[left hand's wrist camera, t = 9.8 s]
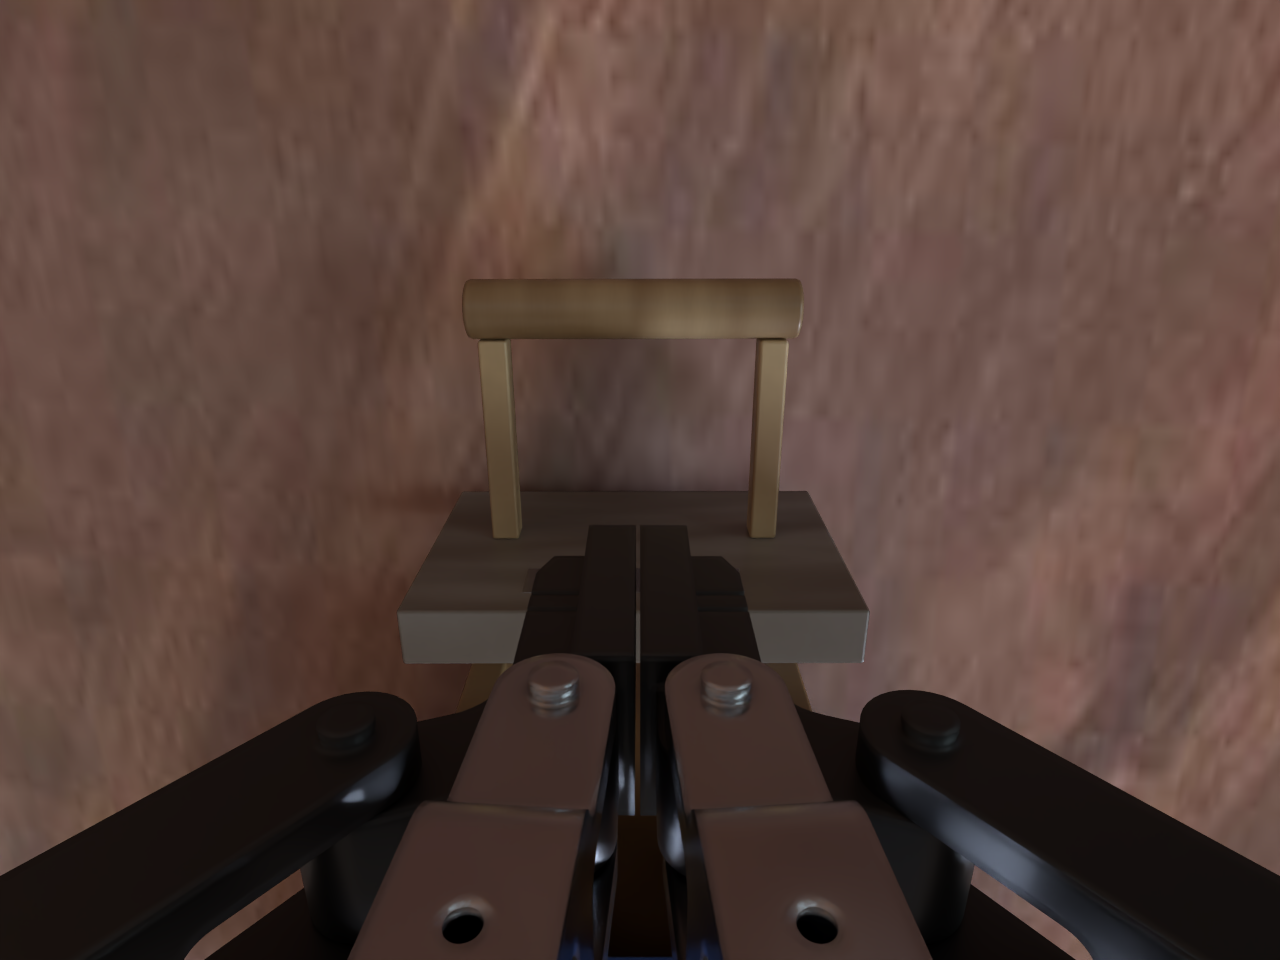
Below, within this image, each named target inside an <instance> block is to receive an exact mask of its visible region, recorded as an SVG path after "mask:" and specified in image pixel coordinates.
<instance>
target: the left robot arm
mask: <svg viewBox="0 0 1280 960" xmlns="http://www.w3.org/2000/svg"><path fill="white" fill-rule="evenodd" d="M531 592H532V593H531V595H530V599H529V603H528V607H527V611H526V615H525V619H524V623H523V627H522V630H521V634H520V638H519V642H518V646H517V650H516V654H515V658H514V662H513V666H511V667H509V668H508V669H507V670H506V671H504V672H503V673H502V674H501V675H500V676H499V678H498V679H497V680H496V682H495V684H494V686H493V688H492V691H491V693H490V696H489V698H488V699H487V700H486V701H484V702H483V703H481V704H479V705H477V706H474V707H472V708H470V709H467V710H464V711H462V712H459V713H455V714H451V715H447V716H442V717H438V718H433V719H429V720H424V721H419V722H417V718H416V714H415V712H414V710H413V708H412V707H411V706H410V704H408V703H407V702H406V701H404V700H403V699H401V698H399V697H397V696H394V695H391V694H388V693H381V692H356V693H350V694H344V695H341V696H337V697H333V698H330V699H328V700H325V701H322V702H320V703H318V704H316V705H314V706H312V707H310V708H308V709H306V710H305V711H303V712H301V713H299V714H297V715H295V716H293V717H292V718H290V719H288V720H286V721H284V722H282V723H281V724H279V725H277V726H275V727H273V728H271V729H270V730H268V731H266V732H264V733H262V734H260V735H259V736H257V737H255V738H253V739H251V740H249V741H248V742H246V743H244V744H242V745H240V746H238V747H237V748H235V749H233V750H231V751H229V752H227V753H225V754H224V755H222V756H220V757H218V758H216V759H214V760H213V761H211V762H209V763H207V764H205V765H203V766H202V767H200V768H198V769H196V770H194V771H192V772H191V773H189V774H187V775H185V776H183V777H181V778H180V779H178V780H176V781H174V782H172V783H170V784H169V785H167V786H165V787H163V788H161V789H159V790H157V791H156V792H154V793H152V794H150V795H148V796H146V797H145V798H143V799H141V800H139V801H137V802H135V803H134V804H132V805H130V806H128V807H126V808H124V809H123V810H121V811H119V812H117V813H115V814H113V815H112V816H110V817H108V818H106V819H104V820H102V821H101V822H99V823H97V824H95V825H93V826H91V827H89V828H88V829H86V830H84V831H82V832H80V833H78V834H77V835H75V836H73V837H71V838H69V839H67V840H66V841H64V842H62V843H60V844H58V845H56V846H55V847H53V848H51V849H49V850H47V851H45V852H44V853H42V854H40V855H38V856H36V857H34V858H33V859H31V860H29V861H27V862H25V863H23V864H21V865H20V866H18V867H16V868H14V869H12V870H10V871H9V872H7V873H5V874H3V875H1V876H0V960H184V958H185V957H186V955H187V954H188V953H189V951H190V950H191V949H192V948H193V947H194V945H195V944H196V943H197V942H198V941H199V940H200V939H201V938H202V937H204V936H205V935H206V934H207V933H209V932H210V931H211V930H212V929H214V928H215V927H217V926H218V925H220V924H221V923H222V922H224V921H225V920H227V919H228V918H230V917H231V916H233V915H234V914H235V913H237V912H238V911H240V910H241V909H243V908H244V907H245V906H247V905H248V904H250V903H251V902H253V901H254V900H255V899H257V898H258V897H260V896H261V895H263V894H264V893H265V892H267V891H268V890H270V889H271V888H273V887H274V886H275V885H277V884H278V883H280V882H281V881H283V880H284V879H285V878H287V877H288V876H290V875H291V874H293V873H294V872H295V871H297V870H298V869H300V870H301V875H302V880H303V884H304V888H303V889H302V890H300V891H299V892H298V893H296V894H295V895H293V896H292V897H291V898H289V899H288V900H286V901H285V902H284V903H282V904H281V905H280V906H278V907H277V908H275V909H274V910H273V911H271V912H270V913H268V914H267V915H266V916H264V917H263V918H262V919H260V920H259V921H257V922H256V923H255V924H253V925H252V926H250V927H249V928H248V929H246V930H245V931H244V932H242V933H241V934H239V935H238V936H237V937H235V938H234V939H232V940H231V941H230V942H228V943H227V944H225V945H224V946H223V947H221V948H220V949H219V950H217V951H216V952H214V953H213V954H212V955H210V956H209V957H207V958H206V959H205V960H607V958H608V949H609V941H610V933H611V925H612V917H613V908H614V900H615V892H616V884H617V875H618V851H617V832H618V815H635V721H636V525H589V529H588V536H587V543H586V550H585V556H554V557H553V558H551V559H550V560H549V561H548V562H547V563H546V564H545V565H544V566H543V567H542V568H541V569H539V570H538V571H537V572H536V576H535V580H534V584H533V587H532V591H531ZM640 816H657V840H658V846H659V848H660V851H661V853H662V875H663V884H664V892H665V900H666V908H667V917H668V925H669V933H670V941H671V949H672V958H673V960H1075V959H1074V958H1073V957H1071V956H1070V955H1068V954H1067V953H1066V952H1064V951H1063V950H1061V949H1060V948H1059V947H1057V946H1056V945H1054V944H1053V943H1052V942H1050V941H1049V940H1048V939H1046V938H1045V937H1043V936H1042V935H1041V934H1039V933H1038V932H1036V931H1035V930H1034V929H1032V928H1031V927H1030V926H1028V925H1027V924H1025V923H1024V922H1023V921H1021V920H1020V919H1018V918H1017V917H1016V916H1014V915H1013V914H1012V913H1010V912H1009V911H1007V910H1006V909H1005V908H1003V907H1002V906H1000V905H999V904H998V903H996V902H995V901H993V900H992V899H991V898H989V897H988V896H987V895H985V894H984V893H982V892H981V891H980V890H978V889H977V888H975V887H974V886H973V885H971V879H972V874H973V870H974V865H976V866H977V867H979V868H980V869H982V870H983V871H985V872H986V873H987V874H989V875H990V876H992V877H993V878H995V879H996V880H997V881H999V882H1000V883H1002V884H1003V885H1005V886H1006V887H1007V888H1009V889H1010V890H1012V891H1013V892H1015V893H1016V894H1017V895H1019V896H1020V897H1022V898H1023V899H1025V900H1026V901H1027V902H1029V903H1030V904H1032V905H1033V906H1035V907H1036V908H1037V909H1039V910H1040V911H1042V912H1043V913H1045V914H1046V915H1047V916H1049V917H1050V918H1052V919H1053V920H1055V921H1056V922H1057V923H1059V924H1060V925H1062V926H1063V927H1065V928H1066V929H1067V930H1068V931H1070V932H1071V933H1072V934H1073V935H1074V936H1075V937H1076V938H1077V939H1078V940H1079V941H1080V942H1081V943H1082V944H1083V945H1084V946H1085V948H1086V949H1087V950H1088V952H1089V953H1090V955H1091V956H1092V958H1093V960H1280V876H1279V875H1277V874H1275V873H1273V872H1271V871H1270V870H1268V869H1266V868H1264V867H1262V866H1260V865H1258V864H1257V863H1255V862H1253V861H1251V860H1249V859H1247V858H1246V857H1244V856H1242V855H1240V854H1238V853H1236V852H1235V851H1233V850H1231V849H1229V848H1227V847H1225V846H1224V845H1222V844H1220V843H1218V842H1216V841H1214V840H1213V839H1211V838H1209V837H1207V836H1205V835H1203V834H1202V833H1200V832H1198V831H1196V830H1194V829H1192V828H1190V827H1189V826H1187V825H1185V824H1183V823H1181V822H1179V821H1178V820H1176V819H1174V818H1172V817H1170V816H1168V815H1167V814H1165V813H1163V812H1161V811H1159V810H1157V809H1156V808H1154V807H1152V806H1150V805H1148V804H1146V803H1145V802H1143V801H1141V800H1139V799H1137V798H1135V797H1134V796H1132V795H1130V794H1128V793H1126V792H1124V791H1122V790H1121V789H1119V788H1117V787H1115V786H1113V785H1111V784H1110V783H1108V782H1106V781H1104V780H1102V779H1100V778H1099V777H1097V776H1095V775H1093V774H1091V773H1089V772H1088V771H1086V770H1084V769H1082V768H1080V767H1078V766H1077V765H1075V764H1073V763H1071V762H1069V761H1067V760H1066V759H1064V758H1062V757H1060V756H1058V755H1056V754H1054V753H1053V752H1051V751H1049V750H1047V749H1045V748H1043V747H1042V746H1040V745H1038V744H1036V743H1034V742H1032V741H1031V740H1029V739H1027V738H1025V737H1023V736H1021V735H1020V734H1018V733H1016V732H1014V731H1012V730H1010V729H1009V728H1007V727H1005V726H1003V725H1001V724H999V723H998V722H996V721H994V720H992V719H990V718H988V717H986V716H985V715H983V714H981V713H979V712H977V711H975V710H974V709H972V708H970V707H968V706H966V705H964V704H962V703H960V702H958V701H956V700H954V699H951V698H948V697H946V696H943V695H939V694H935V693H931V692H925V691H917V690H898V691H892V692H887V693H884V694H881V695H879V696H877V697H875V698H873V699H872V700H870V701H869V702H868V703H867V704H866V705H865V707H864V708H863V710H862V713H861V716H860V723H858V722H854V721H849V720H844V719H840V718H835V717H831V716H826V715H822V714H818V713H815V712H812V711H809V710H806V709H804V708H801V707H799V706H797V705H795V704H794V703H793V701H792V698H791V696H790V693H789V691H788V688H787V686H786V684H785V682H784V680H783V679H782V678H781V676H780V675H779V674H778V673H777V672H776V671H774V670H773V669H772V668H771V667H769V666H767V665H766V664H764V663H762V662H761V659H760V655H759V651H758V646H757V642H756V638H755V634H754V630H753V626H752V622H751V618H750V614H749V612H748V606H747V602H746V597H745V595H744V589H743V585H742V581H741V577H740V573H739V572H738V571H737V570H736V569H735V568H734V567H733V566H732V565H731V564H730V563H729V562H727V561H726V560H725V559H724V558H723V557H722V556H691V553H690V545H689V538H688V530H687V525H640Z"/></svg>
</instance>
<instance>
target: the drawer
mask: <svg viewBox="0 0 1280 960" xmlns="http://www.w3.org/2000/svg"><path fill="white" fill-rule="evenodd" d="M803 312H804V295H803V288H802V285H801V282H800V280H798V279H470V280H468V281H466V283H465V285H464V289H463V295H462V313H463V321H464V326H465V330H466V333H467V335H468V337H469V338H472V339H480V340H479V342H478V354H479V367H480V379H481V392H482V405H483V418H484V431H485V443H486V456H487V469H488V482H489V492H462V494H461V496H460V497H459V499H458V501H457V503H456V505H455V507H454V508H453V510H452V512H451V514H450V516H449V517H448V519H447V521H446V523H445V525H444V527H443V528H442V530H441V532H440V534H439V536H438V538H437V539H436V541H435V543H434V545H433V547H432V548H431V550H430V552H429V554H428V556H427V558H426V559H425V561H424V563H423V565H422V567H421V569H420V570H419V572H418V574H417V576H416V578H415V579H414V581H413V583H412V585H411V587H410V589H409V590H408V592H407V594H406V596H405V598H404V600H403V601H402V603H401V605H400V607H399V609H398V610H397V618H398V626H399V633H400V641H401V648H402V656H403V662H404V663H406V664H420V663H472V665H471V668H470V671H469V674H468V677H467V680H466V683H465V686H464V689H463V692H462V695H461V698H460V701H459V704H458V707H457V710H456V713H459V712H462V711H464V710H467V709H470V708H472V707H474V706H477V705H479V704H481V703H483V702H484V701H486V700H487V699H488V698H489V696H490V693H491V691H492V688H493V686H494V684H495V682H496V680H497V679H498V678H499V676H500V675H501V674H502V673H503V672H504V671H506V670H507V669H508V668H509V667H511V666H513V662H514V658H515V654H516V650H517V646H518V642H519V638H520V634H521V630H522V627H523V623H524V619H525V615H526V611H527V607H528V603H529V599H530V595H531V593H532V592H531V591H532V587H533V584H534V580H535V576H536V572H537V571H538V570H539V569H541V568H542V567H543V566H544V565H545V564H546V563H547V562H548V561H549V560H550V559H551V558H553V557H554V556H585V550H586V543H587V536H588V529H589V525H636V721H635V815H618V832H617V851H618V875H617V884H616V892H615V900H614V908H613V917H612V925H611V933H610V941H609V949H608V957H672V949H671V941H670V933H669V925H668V917H667V908H666V900H665V892H664V884H663V875H662V853H661V851H660V848H659V846H658V840H657V816H640V525H687V530H688V538H689V545H690V553H691V556H722V557H723V558H724V559H725V560H726V561H727V562H729V563H730V564H731V565H732V566H733V567H734V568H735V569H736V570H737V571H738V572H739V573H740V577H741V581H742V585H743V589H744V595H745V597H746V602H747V606H748V612H749V614H750V618H751V622H752V626H753V630H754V634H755V638H756V642H757V646H758V651H759V655H760V659H761V662H762V663H764V664H766V665H767V666H769V667H771V668H772V669H773V670H774V671H776V672H777V673H778V674H779V675H780V676H781V678H782V679H783V680H784V682H785V684H786V686H787V688H788V691H789V693H790V696H791V698H792V701H793V703H794V704H795V705H797V706H799V707H801V708H804V709H806V710H809V711H812V709H811V706H810V703H809V699H808V696H807V693H806V690H805V687H804V684H803V681H802V677H801V674H800V671H799V668H798V665H797V663H862V662H863V661H864V654H865V646H866V638H867V630H868V621H869V613H870V611H869V609H868V607H867V605H866V603H865V601H864V599H863V597H862V596H861V594H860V592H859V590H858V588H857V586H856V584H855V582H854V580H853V578H852V576H851V574H850V572H849V570H848V568H847V567H846V565H845V563H844V561H843V559H842V557H841V555H840V553H839V551H838V549H837V547H836V545H835V543H834V541H833V540H832V538H831V536H830V534H829V532H828V530H827V528H826V526H825V524H824V522H823V520H822V518H821V516H820V514H819V512H818V511H817V509H816V507H815V505H814V503H813V501H812V499H811V497H810V495H809V493H808V492H807V491H779V478H780V464H781V449H782V434H783V420H784V405H785V390H786V375H787V361H788V346H789V343H788V341H787V340H786V339H785V338H796V337H798V335H799V333H800V330H801V327H802V321H803ZM748 338H757V340H756V359H755V378H754V397H753V415H752V434H751V453H750V472H749V491H589V492H520V483H519V467H518V451H517V435H516V419H515V404H514V388H513V372H512V356H511V340H510V339H748Z"/></svg>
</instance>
